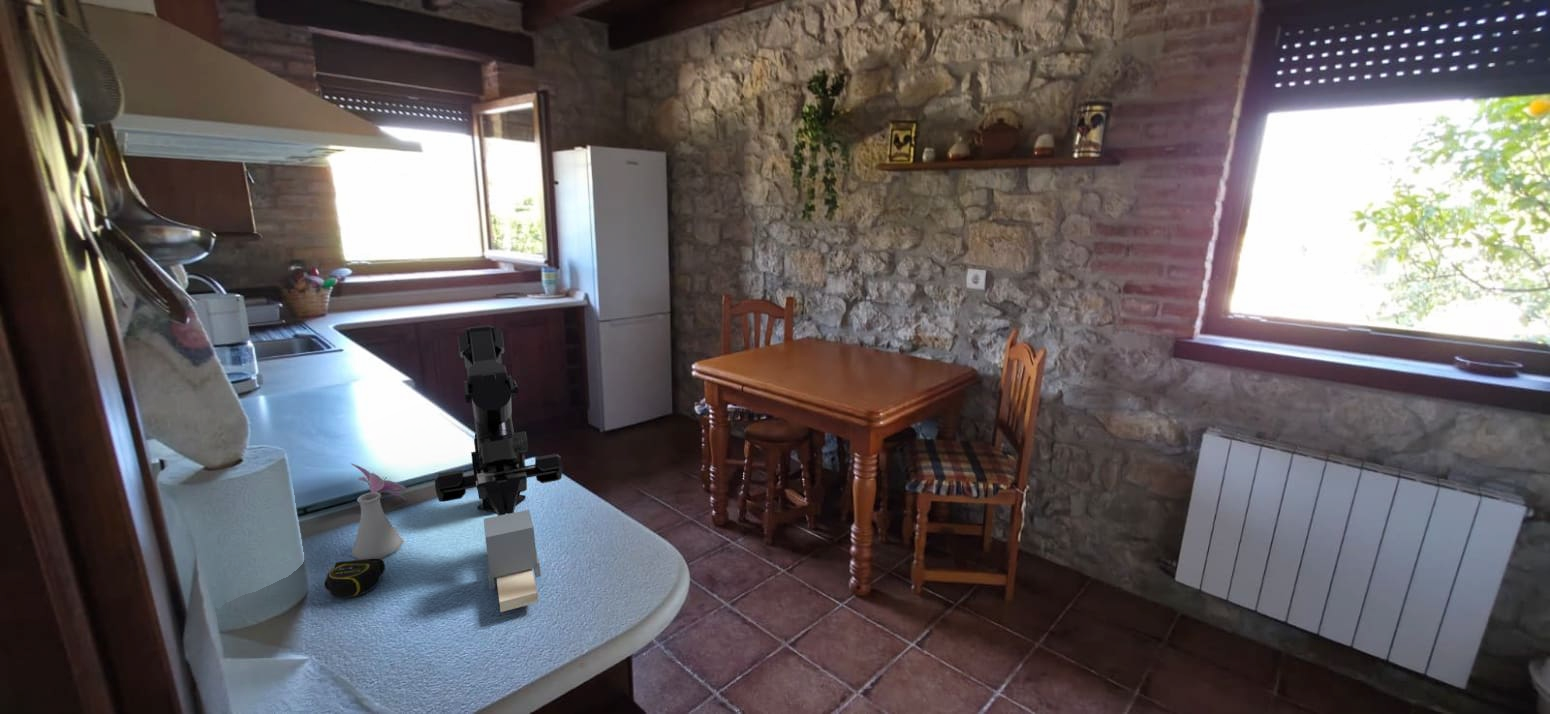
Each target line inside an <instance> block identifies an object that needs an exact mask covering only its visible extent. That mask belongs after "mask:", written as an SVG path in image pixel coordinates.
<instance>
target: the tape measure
mask: <svg viewBox="0 0 1550 714" xmlns="http://www.w3.org/2000/svg"><path fill="white" fill-rule="evenodd" d="M385 566H386V565H385V561H384V560H383V558H381V559H363V560H359V559H355V560H345V561H338V562H336V563H335V564H334V566H333V568H332V569H330V570H329V571H328V573H327V576H326V578H325V580H324V588H325V589H326V590H327V591H328V592H329V594H330V596H332V597H334V598H343V599H344V598H345V599H346V598H352V597H355V596H359V595H363V594H364V593H367V592H368V591H370V590H372V589H373V588H374V587H376V586H377V585H378V584H379V582H380V578H381V576H382V575H383V574H384V571H385V569H386V567H385Z"/></svg>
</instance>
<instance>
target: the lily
mask: <svg viewBox="0 0 1550 714" xmlns="http://www.w3.org/2000/svg"><path fill="white" fill-rule="evenodd" d="M350 464H351V465H352V467H353V466H354V467H355V468H356V469H358V470H359V471H360V472H361V473H362V474H363V475H364V476H365V477H364V476H362V477H361V476H360V477H358V480H360V481H363V482H365V483H368V485H369V489H370V492H378V493H380V494H382V493H383V494H384V493H387V492H388V493H387V494H389V493H390V494H393V495H395V496H398V497H400V498H402V499H403V500H405V501H407V499H406V497H404V495H403V494H401V493H400V492H398V491H400V490H405V489H407V487H405V486H404V485H402V484H400V483H397V482H395V481H392V480H389V479H388V478H387V477H385V478H381V477H380V476H379V475H377V474H375V473H374V472H370V471H369V470H367V469H366V468H364V467H362V466H360V465H357V464H354V463H350ZM387 479H388V480H387Z"/></svg>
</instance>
